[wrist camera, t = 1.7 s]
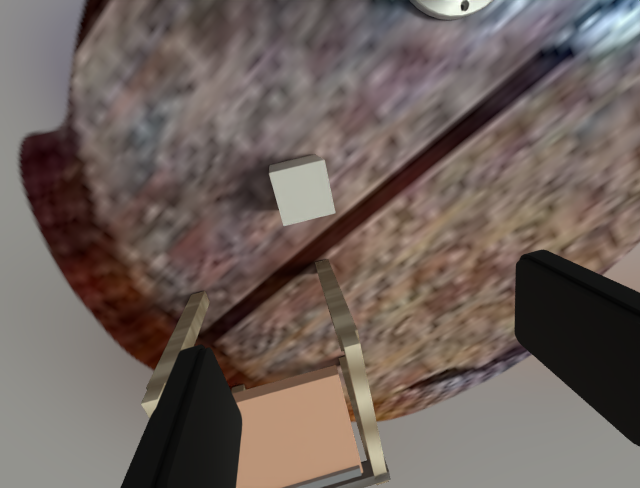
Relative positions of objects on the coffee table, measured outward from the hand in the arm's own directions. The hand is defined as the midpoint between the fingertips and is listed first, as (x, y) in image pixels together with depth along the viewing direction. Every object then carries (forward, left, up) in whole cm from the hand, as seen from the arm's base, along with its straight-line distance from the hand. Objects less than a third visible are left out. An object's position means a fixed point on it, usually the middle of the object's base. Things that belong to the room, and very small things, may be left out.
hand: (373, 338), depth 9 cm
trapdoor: (+18, -7, -12) cm, 22 cm away
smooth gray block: (0, 0, -26) cm, 26 cm away
